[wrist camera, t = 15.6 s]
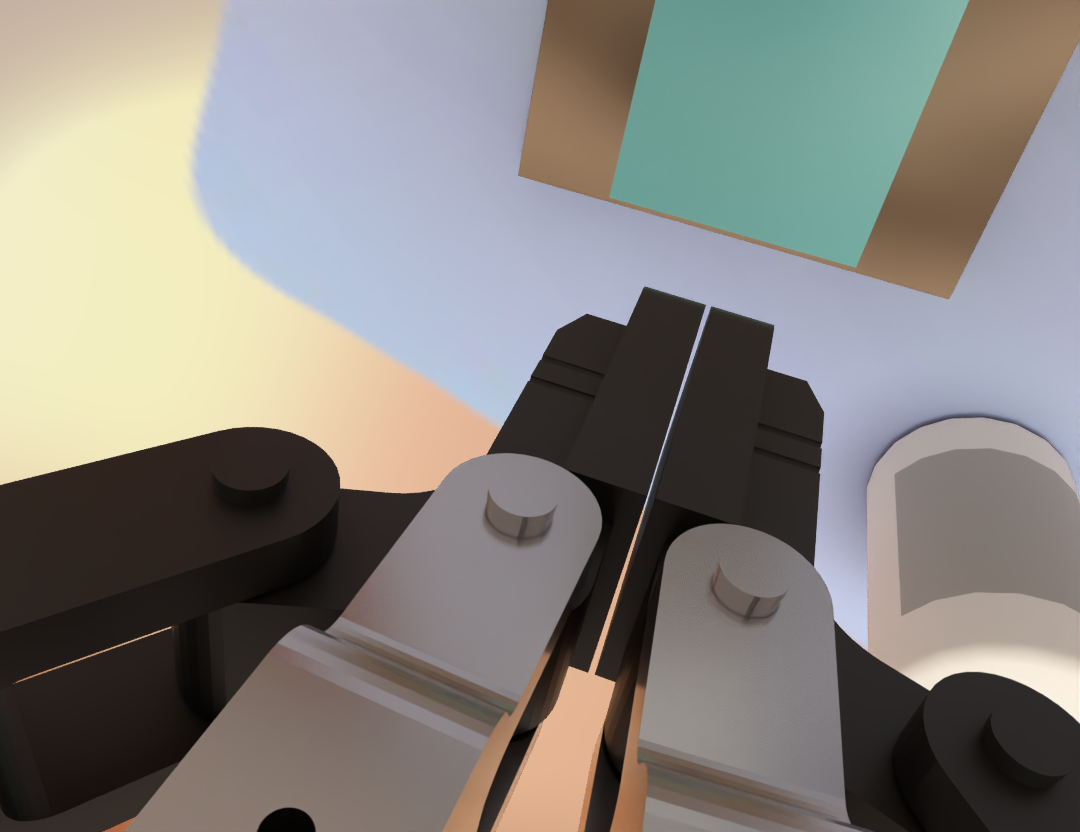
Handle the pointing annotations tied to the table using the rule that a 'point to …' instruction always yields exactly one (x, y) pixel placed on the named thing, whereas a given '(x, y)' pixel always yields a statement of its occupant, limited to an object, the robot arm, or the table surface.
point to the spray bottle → (976, 558)
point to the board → (924, 172)
